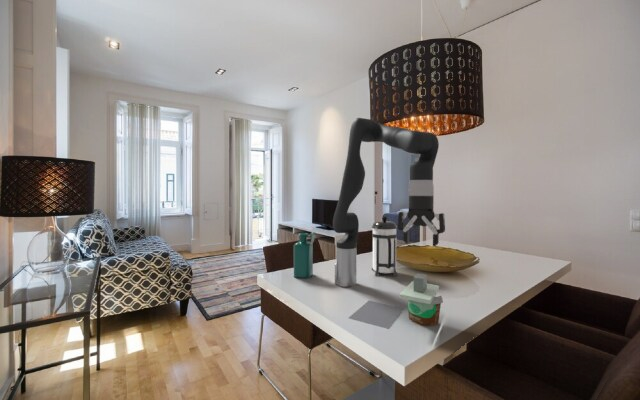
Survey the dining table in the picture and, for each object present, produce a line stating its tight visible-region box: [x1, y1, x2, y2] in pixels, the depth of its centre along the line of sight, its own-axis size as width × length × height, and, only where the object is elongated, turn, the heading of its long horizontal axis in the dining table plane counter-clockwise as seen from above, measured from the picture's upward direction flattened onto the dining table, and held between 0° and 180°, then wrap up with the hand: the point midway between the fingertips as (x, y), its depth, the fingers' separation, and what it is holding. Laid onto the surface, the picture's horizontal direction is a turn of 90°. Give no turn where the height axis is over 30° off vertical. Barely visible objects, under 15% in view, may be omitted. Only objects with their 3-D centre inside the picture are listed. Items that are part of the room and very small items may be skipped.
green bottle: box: [293, 232, 316, 279], centre depth 143 cm, size 10×8×22 cm
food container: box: [407, 295, 444, 327], centre depth 91 cm, size 12×6×10 cm, turn 45°
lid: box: [399, 273, 440, 304], centre depth 91 cm, size 9×15×6 cm, turn 147°
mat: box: [348, 299, 406, 330], centre depth 98 cm, size 14×18×1 cm
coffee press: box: [371, 215, 398, 277], centre depth 145 cm, size 17×16×30 cm
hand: (420, 244), depth 90 cm, fingers open, 8 cm apart
